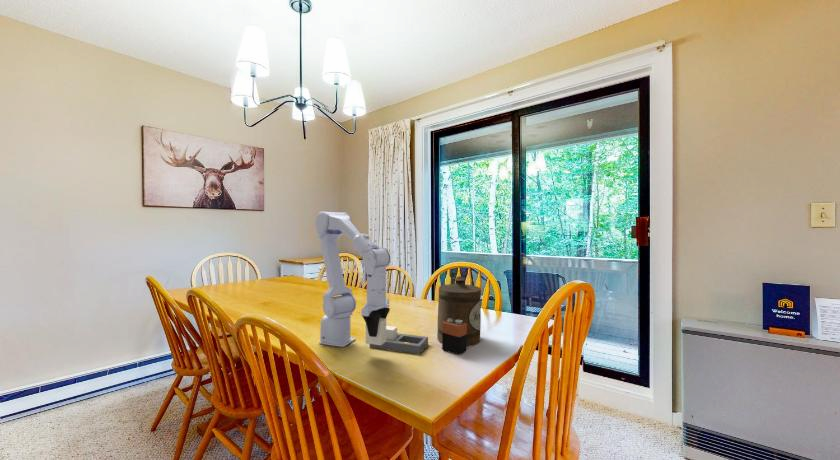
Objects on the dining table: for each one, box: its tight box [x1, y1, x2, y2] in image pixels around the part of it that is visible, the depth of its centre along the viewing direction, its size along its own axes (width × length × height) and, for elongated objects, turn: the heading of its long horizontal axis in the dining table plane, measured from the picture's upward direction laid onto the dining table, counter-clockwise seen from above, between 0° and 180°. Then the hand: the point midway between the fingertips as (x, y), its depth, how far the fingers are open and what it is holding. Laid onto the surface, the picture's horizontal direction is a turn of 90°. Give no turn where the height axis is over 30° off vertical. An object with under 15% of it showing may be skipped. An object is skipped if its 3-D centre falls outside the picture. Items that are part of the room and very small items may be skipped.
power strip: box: [369, 325, 429, 355], centre depth 111 cm, size 17×9×6 cm, turn 71°
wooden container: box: [436, 276, 482, 347], centre depth 117 cm, size 15×15×22 cm
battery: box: [441, 318, 467, 356], centre depth 107 cm, size 4×7×10 cm, turn 49°
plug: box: [365, 317, 387, 345], centre depth 101 cm, size 5×4×7 cm
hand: (375, 334), depth 101 cm, fingers closed on plug, 3 cm apart
